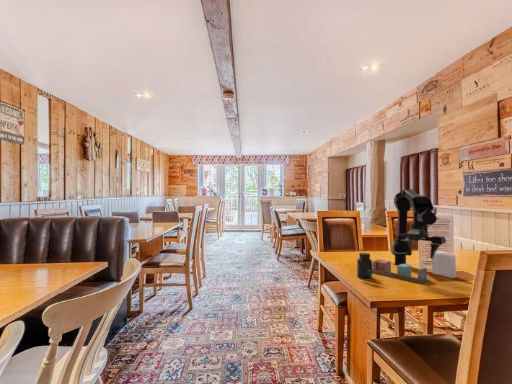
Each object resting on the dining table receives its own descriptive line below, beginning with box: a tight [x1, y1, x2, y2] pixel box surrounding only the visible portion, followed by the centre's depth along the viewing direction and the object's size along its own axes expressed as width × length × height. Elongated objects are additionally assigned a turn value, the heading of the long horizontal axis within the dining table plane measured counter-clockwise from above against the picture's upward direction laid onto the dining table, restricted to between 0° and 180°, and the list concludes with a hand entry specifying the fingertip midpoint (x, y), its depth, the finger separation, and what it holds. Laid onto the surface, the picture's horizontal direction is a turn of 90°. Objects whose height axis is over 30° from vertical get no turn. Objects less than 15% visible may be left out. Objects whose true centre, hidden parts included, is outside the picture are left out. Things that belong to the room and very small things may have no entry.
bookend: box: [417, 267, 430, 284], centre depth 130 cm, size 7×2×5 cm, turn 129°
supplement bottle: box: [356, 252, 373, 280], centre depth 136 cm, size 7×7×12 cm
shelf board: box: [372, 258, 424, 285], centre depth 138 cm, size 11×24×6 cm, turn 39°
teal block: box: [396, 263, 412, 277], centre depth 136 cm, size 6×4×6 cm, turn 129°
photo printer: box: [431, 250, 457, 279], centre depth 139 cm, size 10×4×12 cm, turn 26°
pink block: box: [377, 259, 392, 273], centre depth 144 cm, size 6×4×6 cm, turn 129°
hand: (420, 256), depth 130 cm, fingers open, 9 cm apart
